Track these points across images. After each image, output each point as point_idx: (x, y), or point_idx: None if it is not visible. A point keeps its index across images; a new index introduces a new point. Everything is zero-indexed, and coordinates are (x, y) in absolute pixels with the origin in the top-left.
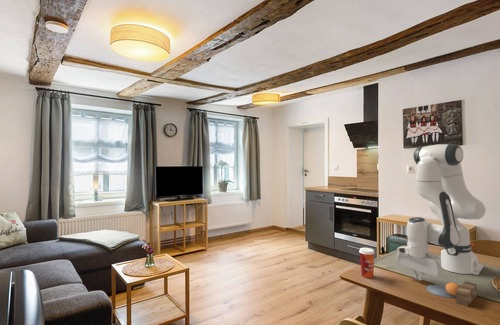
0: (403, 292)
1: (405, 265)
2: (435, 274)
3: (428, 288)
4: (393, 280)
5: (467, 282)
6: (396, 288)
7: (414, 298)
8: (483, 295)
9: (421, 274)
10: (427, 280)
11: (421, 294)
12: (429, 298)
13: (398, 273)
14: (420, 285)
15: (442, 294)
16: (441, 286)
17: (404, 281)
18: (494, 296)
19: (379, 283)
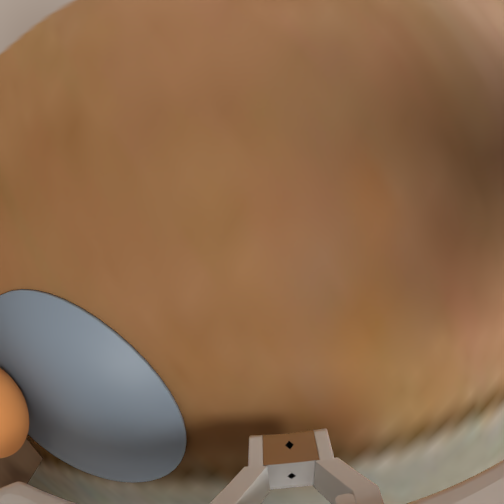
0: (205, 21)
1: (485, 493)
2: (12, 498)
3: (127, 366)
4: (478, 232)
5: None
6: (329, 42)
7: (65, 31)
8: None
9: (223, 499)
10: None
11: (68, 168)
12: (2, 167)
13: (484, 402)
14: (227, 377)
15: (13, 336)
16: (127, 461)
17: (398, 320)
18: None
19: (485, 41)
